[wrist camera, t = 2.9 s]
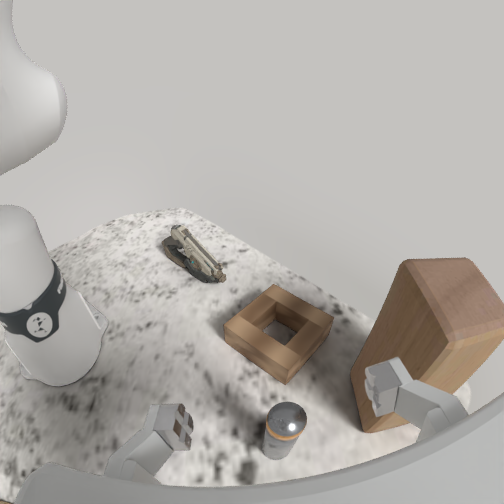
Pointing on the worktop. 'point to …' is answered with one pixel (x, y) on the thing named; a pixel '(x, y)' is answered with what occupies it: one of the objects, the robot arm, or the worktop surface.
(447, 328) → the wooden block
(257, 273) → the worktop surface
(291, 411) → the grey metal cylinder
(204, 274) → the futuristic pistol
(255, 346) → the bore block
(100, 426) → the worktop surface
